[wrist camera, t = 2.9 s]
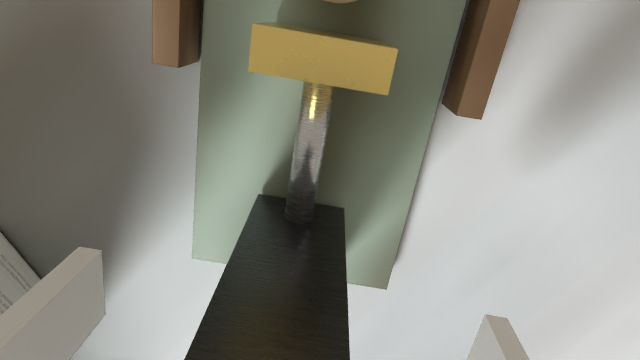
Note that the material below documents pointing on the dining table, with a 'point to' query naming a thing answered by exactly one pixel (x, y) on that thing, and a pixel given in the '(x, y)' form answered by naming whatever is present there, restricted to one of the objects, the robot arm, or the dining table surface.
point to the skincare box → (13, 275)
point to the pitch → (346, 114)
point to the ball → (340, 1)
